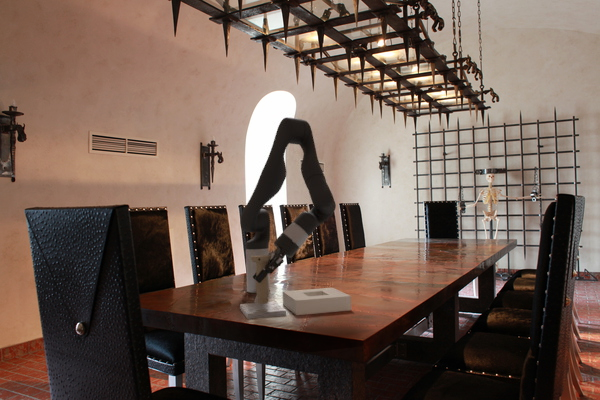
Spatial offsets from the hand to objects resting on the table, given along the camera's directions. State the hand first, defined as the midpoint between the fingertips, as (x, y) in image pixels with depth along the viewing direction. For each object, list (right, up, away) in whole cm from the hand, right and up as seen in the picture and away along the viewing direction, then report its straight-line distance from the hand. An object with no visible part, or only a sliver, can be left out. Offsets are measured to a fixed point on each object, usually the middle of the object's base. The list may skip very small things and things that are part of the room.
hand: (256, 280), depth 153 cm
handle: (+2, -8, 0) cm, 8 cm away
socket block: (+19, -10, +6) cm, 22 cm away
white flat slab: (+2, -10, +1) cm, 11 cm away
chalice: (0, -11, +19) cm, 22 cm away
